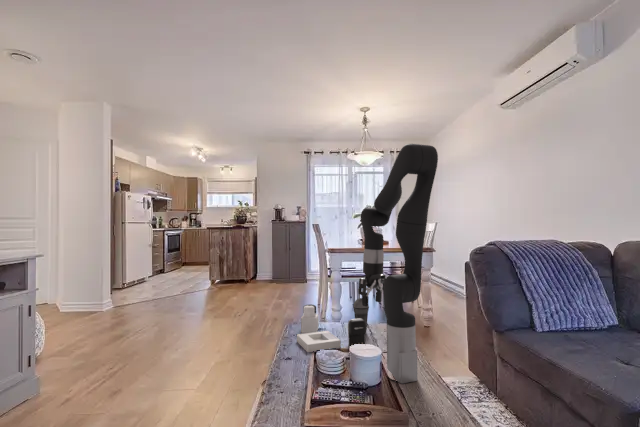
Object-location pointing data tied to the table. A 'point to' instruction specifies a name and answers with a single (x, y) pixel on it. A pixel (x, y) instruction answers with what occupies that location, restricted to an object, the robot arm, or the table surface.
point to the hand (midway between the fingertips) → (371, 303)
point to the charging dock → (318, 341)
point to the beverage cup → (360, 310)
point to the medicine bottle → (309, 319)
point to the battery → (356, 331)
